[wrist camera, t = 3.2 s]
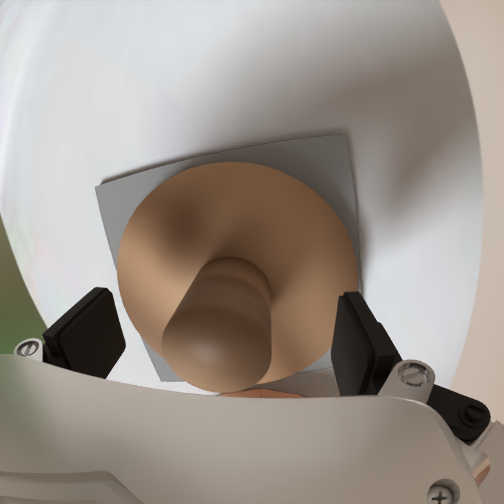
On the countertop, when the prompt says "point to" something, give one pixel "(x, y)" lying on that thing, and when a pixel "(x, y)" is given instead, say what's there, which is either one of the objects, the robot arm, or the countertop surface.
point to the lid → (235, 274)
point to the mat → (271, 155)
